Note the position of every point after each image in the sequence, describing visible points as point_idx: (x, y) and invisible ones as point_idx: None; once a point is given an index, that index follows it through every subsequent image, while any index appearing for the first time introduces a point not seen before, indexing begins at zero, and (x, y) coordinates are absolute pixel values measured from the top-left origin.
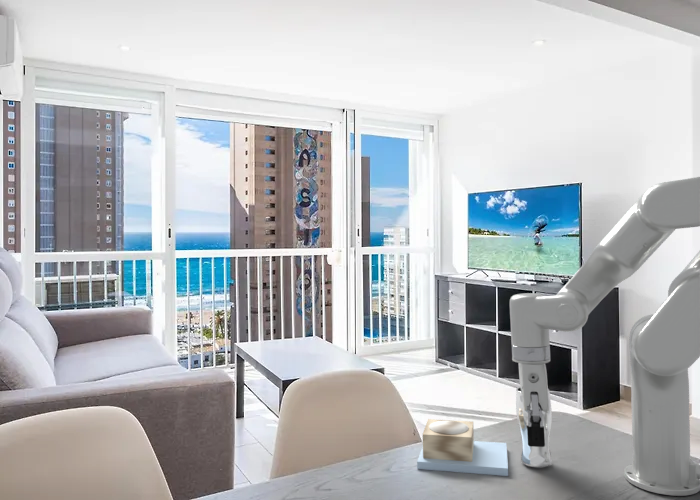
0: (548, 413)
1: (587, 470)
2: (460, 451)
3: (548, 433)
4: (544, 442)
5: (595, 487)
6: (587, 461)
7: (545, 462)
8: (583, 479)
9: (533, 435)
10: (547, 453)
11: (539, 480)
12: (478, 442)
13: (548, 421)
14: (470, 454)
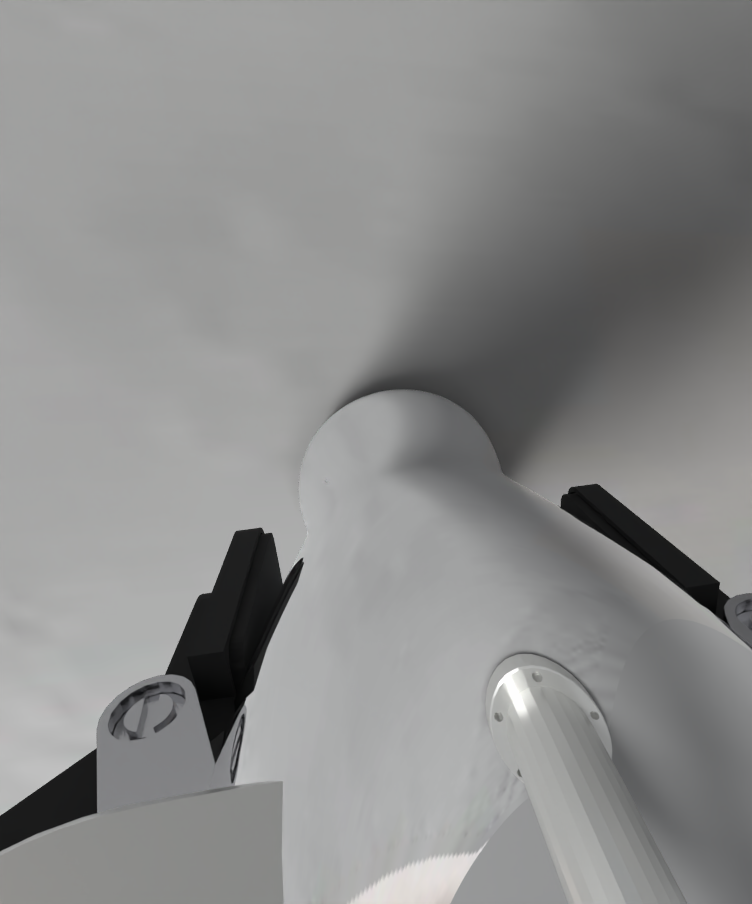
0: (747, 641)
1: (399, 130)
2: None
3: (521, 486)
4: (612, 497)
5: (686, 92)
6: (211, 116)
7: (483, 434)
8: (568, 172)
9: None
10: (470, 436)
11: (630, 448)
12: None
13: (640, 558)
14: None
